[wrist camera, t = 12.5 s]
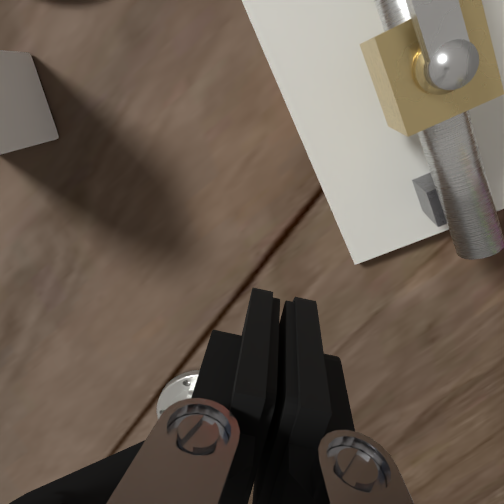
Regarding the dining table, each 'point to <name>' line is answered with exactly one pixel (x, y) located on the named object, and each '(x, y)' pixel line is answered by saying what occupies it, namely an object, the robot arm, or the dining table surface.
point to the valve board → (362, 119)
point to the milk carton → (22, 104)
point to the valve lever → (443, 43)
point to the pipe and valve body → (440, 124)
